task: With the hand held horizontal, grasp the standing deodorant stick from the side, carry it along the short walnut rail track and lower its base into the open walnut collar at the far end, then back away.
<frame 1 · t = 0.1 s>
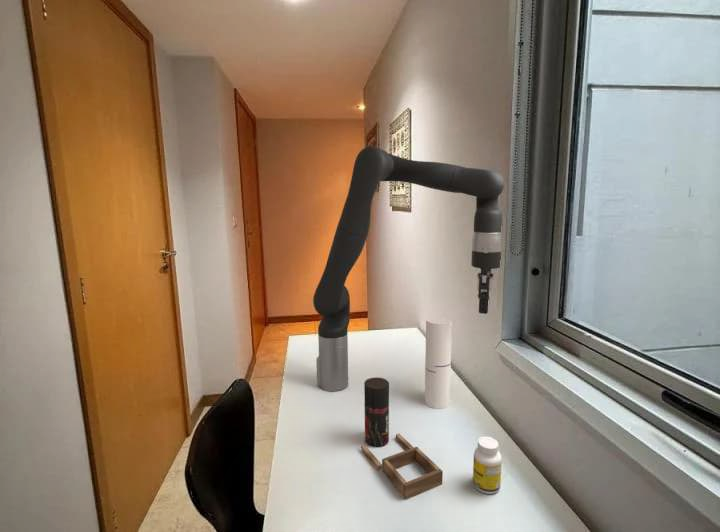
hand: (484, 308, 103), 29 cm above the table, tool pointing down, fingers open, 8 cm apart
deodorant: (376, 440, 94), on the table
cylindrical container: (437, 403, 112), on the table
socket track: (411, 477, 81), on the table
supplement bottle: (486, 486, 79), on the table
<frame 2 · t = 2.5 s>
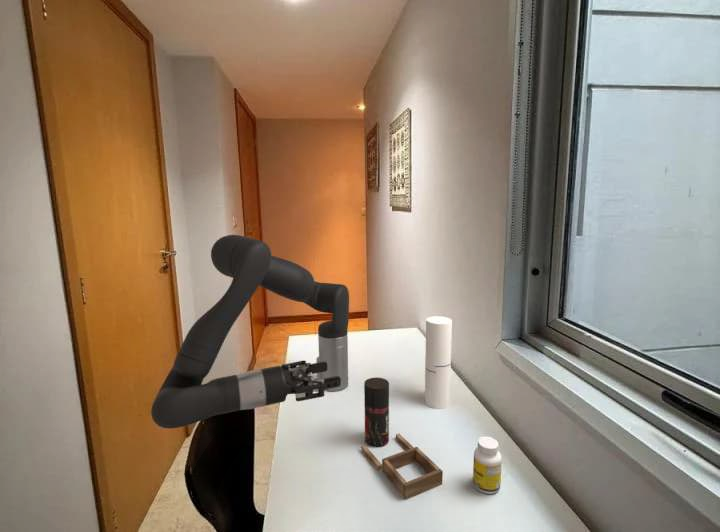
hand: (333, 373, 86), 20 cm above the table, tool horizontal, fingers open, 8 cm apart
nothing on the table moved.
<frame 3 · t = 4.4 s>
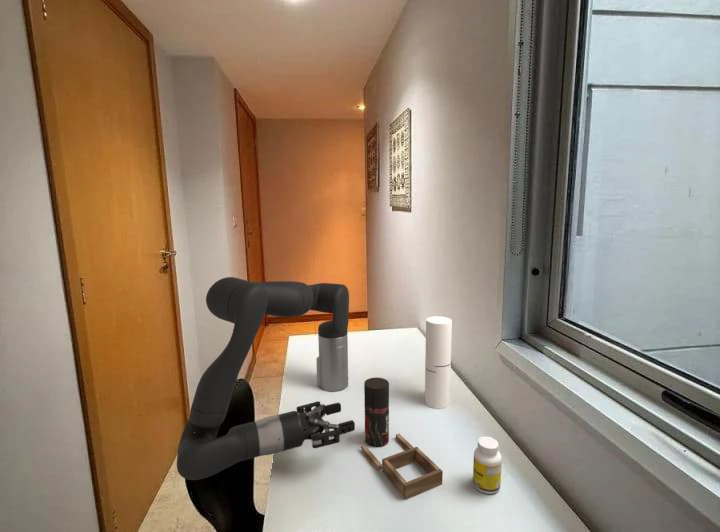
hand: (347, 415, 90), 8 cm above the table, tool horizontal, fingers open, 8 cm apart
nothing on the table moved.
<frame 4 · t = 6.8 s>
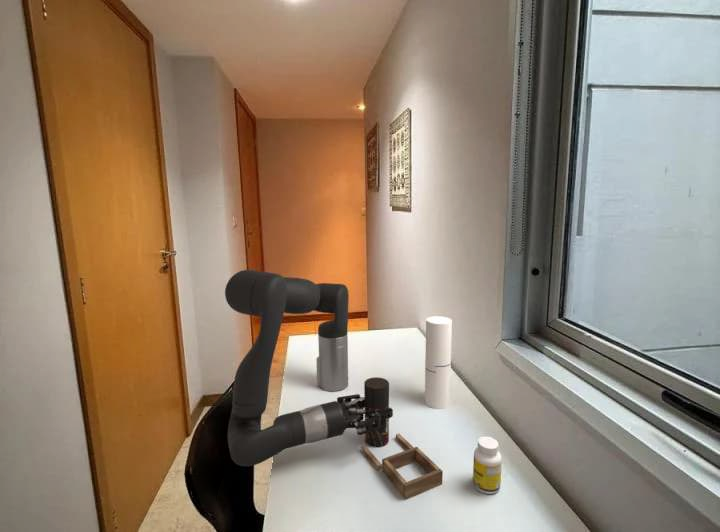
hand: (385, 405, 94), 9 cm above the table, tool horizontal, fingers closed on deodorant, 6 cm apart
deodorant: (376, 440, 94), on the table, touching gripper
everything else where it was.
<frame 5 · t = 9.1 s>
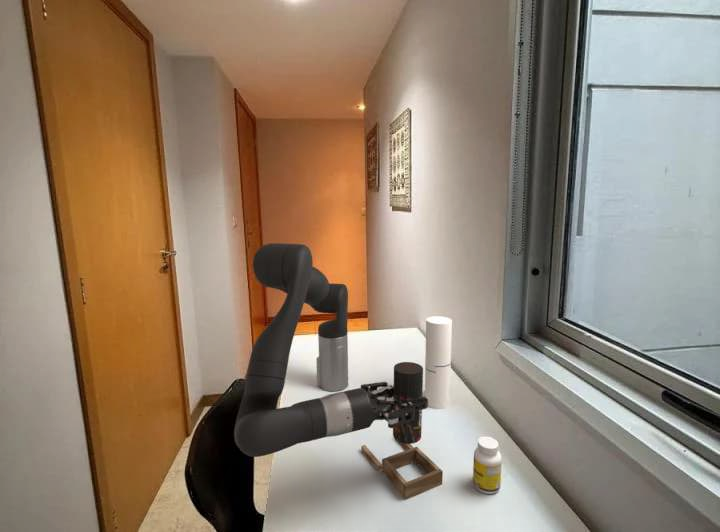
hand: (417, 394, 80), 18 cm above the table, tool horizontal, fingers closed on deodorant, 6 cm apart
deodorant: (406, 436, 80), point 9 cm above the table, touching gripper
everything else where it was.
when the fingers open (9 cm above the table, at t = 11.8 s): deodorant stays where it is, resting in socket track.
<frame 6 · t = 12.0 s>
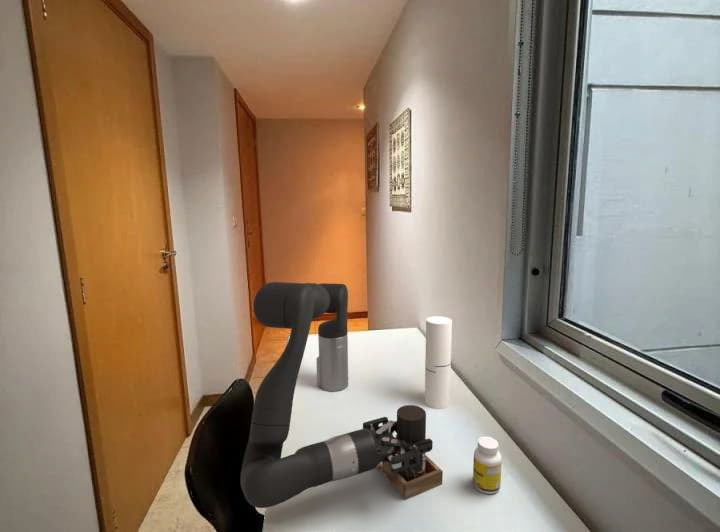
hand: (420, 432, 80), 10 cm above the table, tool horizontal, fingers open, 7 cm apart
deodorant: (410, 478, 81), resting in socket track
everything else where it was.
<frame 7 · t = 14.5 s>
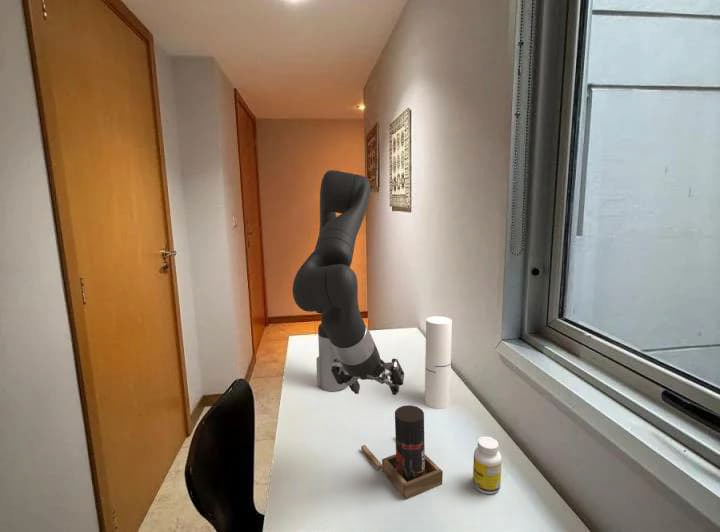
hand: (376, 390, 83), 18 cm above the table, tool tilted 35°, fingers open, 8 cm apart
nothing on the table moved.
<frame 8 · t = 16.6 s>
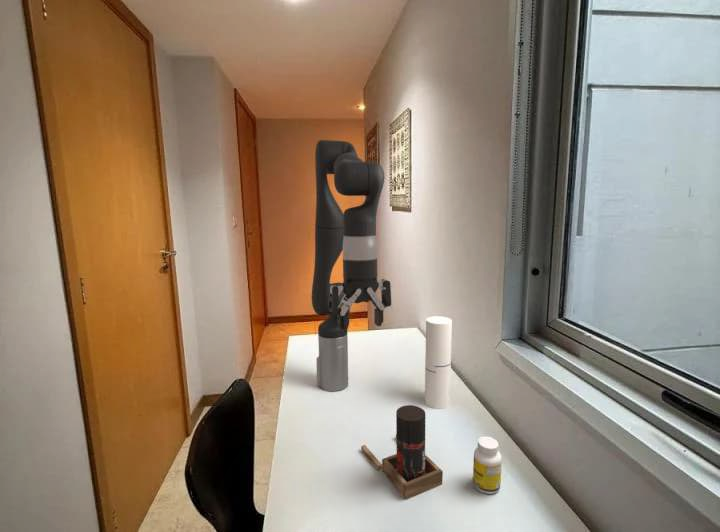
hand: (360, 328, 85), 30 cm above the table, tool pointing down, fingers open, 8 cm apart
nothing on the table moved.
at the end: deodorant 0.1 cm off-centre on the socket track, point 0.0 cm above the socket track's base; deodorant tilted 1°; the gripper is holding nothing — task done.
